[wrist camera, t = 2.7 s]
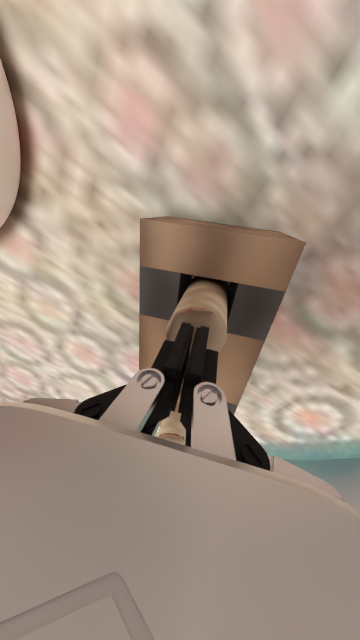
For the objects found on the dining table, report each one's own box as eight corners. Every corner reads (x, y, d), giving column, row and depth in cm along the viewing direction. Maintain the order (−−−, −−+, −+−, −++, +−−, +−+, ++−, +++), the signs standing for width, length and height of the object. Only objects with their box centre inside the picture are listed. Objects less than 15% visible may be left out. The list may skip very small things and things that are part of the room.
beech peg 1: (205, 381, 25) (196, 443, 18) (200, 401, 27) (190, 463, 20) (175, 374, 26) (156, 431, 19) (172, 394, 28) (154, 452, 21)
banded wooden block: (279, 232, 20) (305, 242, 13) (222, 396, 33) (221, 443, 26) (168, 216, 22) (140, 218, 15) (156, 379, 35) (138, 419, 28)
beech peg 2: (231, 277, 18) (233, 316, 11) (222, 315, 20) (219, 366, 13) (189, 270, 18) (168, 303, 12) (184, 307, 20) (163, 353, 14)
